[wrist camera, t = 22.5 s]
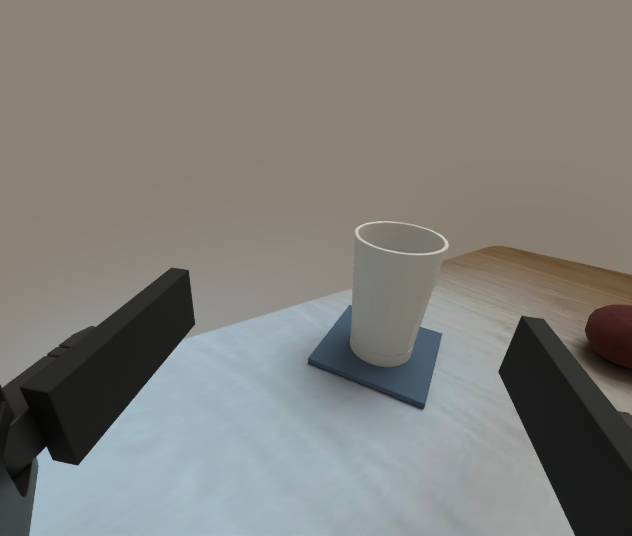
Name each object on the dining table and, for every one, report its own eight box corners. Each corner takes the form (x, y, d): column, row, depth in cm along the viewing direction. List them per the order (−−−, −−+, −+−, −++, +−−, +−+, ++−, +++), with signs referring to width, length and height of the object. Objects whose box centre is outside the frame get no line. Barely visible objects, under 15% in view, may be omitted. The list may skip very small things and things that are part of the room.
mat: (307, 363, 32) (308, 358, 32) (348, 309, 41) (349, 304, 41) (423, 409, 28) (425, 404, 27) (440, 337, 37) (442, 333, 36)
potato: (558, 331, 39) (579, 287, 37) (634, 341, 38) (661, 297, 36) (596, 376, 33) (625, 326, 30) (689, 389, 32) (727, 339, 29)
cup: (432, 372, 31) (466, 256, 25) (348, 374, 30) (365, 253, 25) (405, 322, 38) (427, 222, 33) (336, 322, 37) (347, 219, 32)
